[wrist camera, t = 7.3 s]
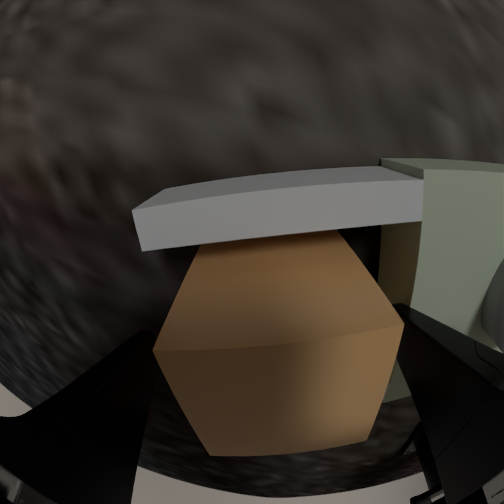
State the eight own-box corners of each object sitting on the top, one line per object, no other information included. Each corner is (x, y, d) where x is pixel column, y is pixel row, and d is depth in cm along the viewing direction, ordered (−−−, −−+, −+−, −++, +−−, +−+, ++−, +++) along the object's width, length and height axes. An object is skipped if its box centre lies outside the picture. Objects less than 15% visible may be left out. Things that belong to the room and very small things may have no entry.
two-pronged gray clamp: (525, 167, 8) (591, 192, 4) (494, 321, 12) (533, 368, 8) (163, 181, 10) (90, 222, 5) (214, 377, 13) (202, 459, 9)
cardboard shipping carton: (332, 329, 12) (366, 440, 7) (225, 340, 13) (210, 455, 7) (333, 226, 10) (404, 323, 5) (202, 240, 11) (152, 350, 5)
